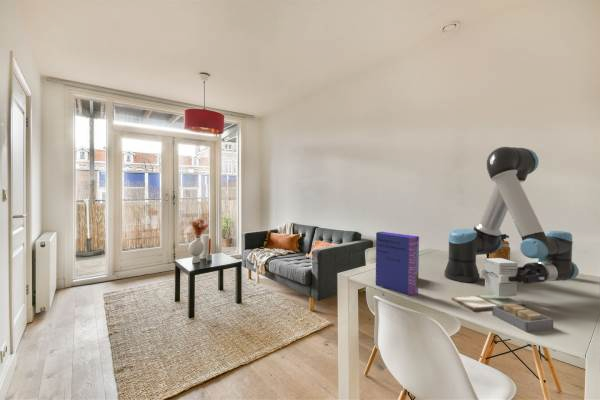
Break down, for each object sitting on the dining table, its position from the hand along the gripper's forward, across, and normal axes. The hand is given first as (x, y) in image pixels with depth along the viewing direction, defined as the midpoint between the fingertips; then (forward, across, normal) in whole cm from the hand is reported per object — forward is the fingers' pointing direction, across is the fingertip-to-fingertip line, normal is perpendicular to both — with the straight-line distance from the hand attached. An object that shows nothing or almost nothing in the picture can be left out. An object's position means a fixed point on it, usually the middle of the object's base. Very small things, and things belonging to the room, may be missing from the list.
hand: (490, 275), depth 108 cm
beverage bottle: (-59, +25, -11) cm, 65 cm away
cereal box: (+26, +22, -11) cm, 36 cm away
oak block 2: (+3, -17, -11) cm, 20 cm away
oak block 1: (+3, -12, -10) cm, 16 cm away
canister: (-42, +37, -11) cm, 57 cm away
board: (+1, 0, -11) cm, 11 cm away
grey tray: (+3, -15, -11) cm, 19 cm away
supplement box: (-5, 0, -7) cm, 9 cm away
